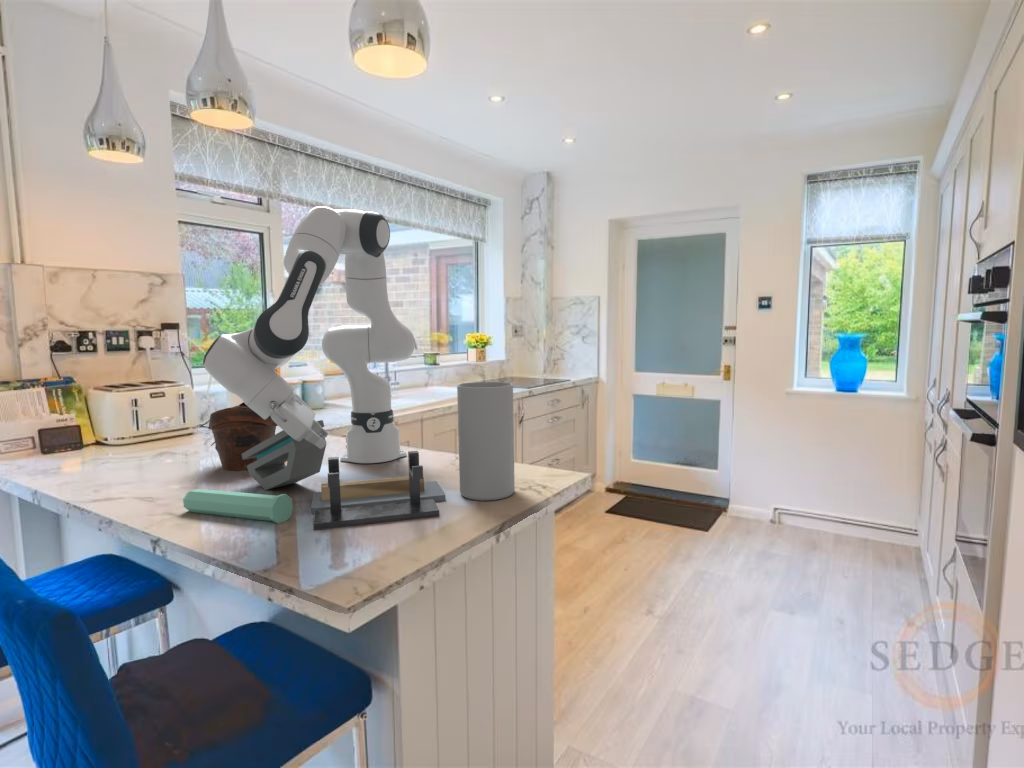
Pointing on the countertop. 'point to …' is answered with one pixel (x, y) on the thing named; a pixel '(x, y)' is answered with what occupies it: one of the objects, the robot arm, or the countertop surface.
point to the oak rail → (371, 487)
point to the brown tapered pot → (238, 434)
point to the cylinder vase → (486, 440)
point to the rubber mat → (380, 498)
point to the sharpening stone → (284, 460)
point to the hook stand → (375, 512)
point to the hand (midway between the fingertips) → (325, 441)
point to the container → (239, 504)
